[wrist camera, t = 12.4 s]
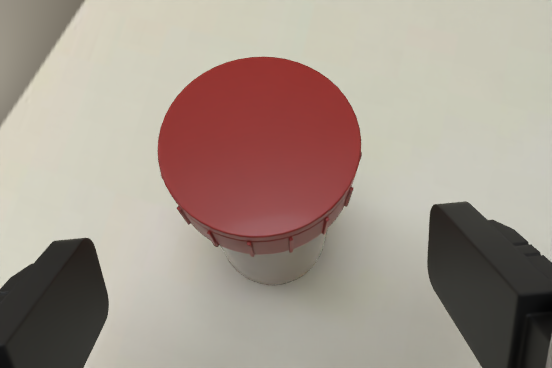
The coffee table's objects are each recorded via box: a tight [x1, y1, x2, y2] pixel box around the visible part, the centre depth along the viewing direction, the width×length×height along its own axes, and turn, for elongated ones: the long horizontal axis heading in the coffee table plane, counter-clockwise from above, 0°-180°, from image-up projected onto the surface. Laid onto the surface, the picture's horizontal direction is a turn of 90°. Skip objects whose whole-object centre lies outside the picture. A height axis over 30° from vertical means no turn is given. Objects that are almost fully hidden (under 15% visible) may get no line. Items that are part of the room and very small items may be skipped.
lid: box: [158, 57, 362, 257], centre depth 13 cm, size 6×6×2 cm
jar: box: [221, 228, 328, 285], centre depth 17 cm, size 5×5×10 cm
